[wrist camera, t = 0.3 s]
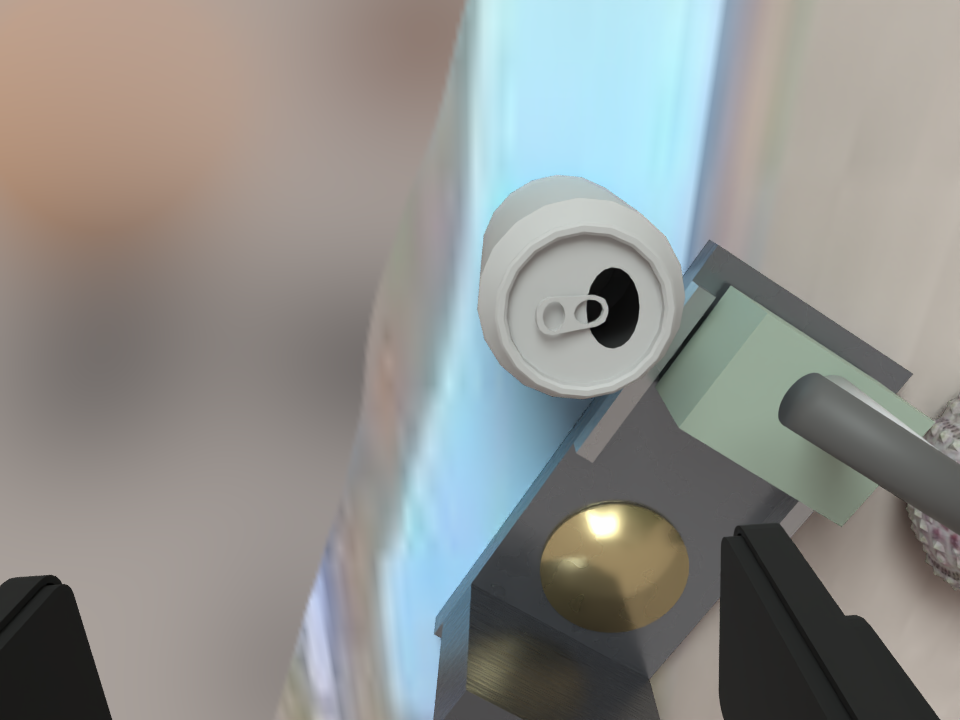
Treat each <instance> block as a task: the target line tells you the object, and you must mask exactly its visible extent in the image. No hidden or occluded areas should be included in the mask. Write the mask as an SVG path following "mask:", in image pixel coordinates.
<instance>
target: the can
mask: <svg viewBox="0 0 960 720" xmlns="http://www.w3.org/2000/svg"><path fill="white" fill-rule="evenodd" d="M684 301H685V291H684V284H683V277H682V270H681V265H680V263H679V261H678V259H677V257H676V255H675V253H674V251H673V249H672V247H671V245H670V244H669V242H668V240H667V238H666V236H665V235H664V234H663V233H661V232H660V231H659V230H658V229H657V228H656V227H655V226H654V225H653V224H652V223H651V222H650V221H649V220H648V219H647V218H645V217H644V216H643V215H642V214H641V213H639V212H638V211H637V210H635V209H634V208H633V207H631V206H630V205H628V204H627V203H626V202H624V201H623V200H621V199H620V198H619V197H617V196H616V195H614V194H613V193H612V192H610V191H609V190H607V189H606V188H605V187H602V186H600V185H598V184H596V183H594V182H591V181H589V180H587V179H585V178H582V177H574V176H563V175H554V176H550V177H545V178H541V179H537V180H532V181H530V182H529V183H527V184H525V185H524V186H522V187H520V188H519V189H517V190H515V191H514V192H512V193H510V194H509V196H508V197H507V198H506V199H505V200H504V201H503V202H502V204H501V205H500V206H499V207H498V208H497V209H496V210H495V212H494V213H493V215H492V217H491V220H490V222H489V224H488V227H487V229H486V231H485V234H484V238H483V249H482V260H481V272H480V284H479V296H478V308H477V310H478V314H479V318H480V322H481V327H482V331H483V335H484V339H485V341H486V343H487V344H488V346H489V347H490V349H491V351H492V352H493V354H494V355H495V357H496V359H497V360H498V362H499V364H500V365H501V366H502V367H503V368H504V369H506V370H507V371H508V372H509V373H510V374H512V375H513V376H514V377H515V378H516V379H518V380H519V381H520V382H521V383H522V384H523V385H525V386H528V387H530V388H533V389H535V390H538V391H540V392H542V393H545V394H547V395H550V396H552V397H563V398H574V399H587V398H592V397H597V396H602V395H607V394H612V393H615V392H617V391H619V390H621V389H623V388H624V387H626V386H628V385H630V384H632V383H634V382H636V381H638V380H640V379H641V378H643V377H644V376H645V375H646V374H647V373H648V372H649V371H650V370H651V369H652V368H653V367H654V366H655V365H656V364H657V363H658V362H659V361H660V360H661V359H662V358H663V357H664V356H665V354H666V352H667V350H668V349H669V347H670V345H671V343H672V341H673V339H674V337H675V336H676V334H677V332H678V330H679V328H680V323H681V317H682V312H683V307H684Z"/></svg>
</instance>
